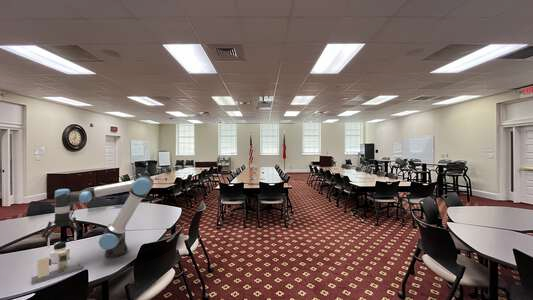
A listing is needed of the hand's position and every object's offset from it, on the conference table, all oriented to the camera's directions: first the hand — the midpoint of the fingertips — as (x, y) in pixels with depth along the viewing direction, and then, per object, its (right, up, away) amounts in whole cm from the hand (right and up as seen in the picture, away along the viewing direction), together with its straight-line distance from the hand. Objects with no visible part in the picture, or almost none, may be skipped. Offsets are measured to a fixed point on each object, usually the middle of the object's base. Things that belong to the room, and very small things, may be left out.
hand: (62, 243), depth 156 cm
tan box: (0, -16, 0) cm, 16 cm away
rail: (+5, -17, -8) cm, 19 cm away
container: (-10, -16, +10) cm, 22 cm away
